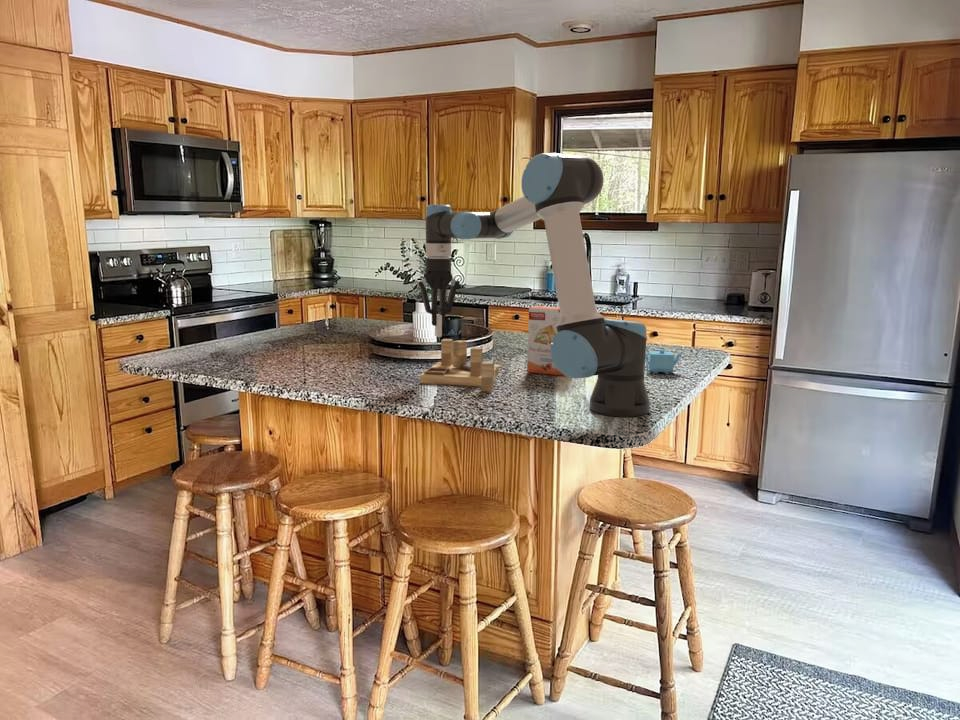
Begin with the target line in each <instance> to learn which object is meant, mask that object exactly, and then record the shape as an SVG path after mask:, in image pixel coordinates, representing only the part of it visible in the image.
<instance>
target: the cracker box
mask: <svg viewBox="0 0 960 720" xmlns="http://www.w3.org/2000/svg"><path fill="white" fill-rule="evenodd" d="M560 318H561V314H560V309H559V306H544V305H534V306H530V307H529V308H528V327H527V328H528V331H527V332H528V333H527V336H528V338H527V369H526V370H527V373H531V374H541V375H552V376H562V377H563V376H565V375H564V374H563V373H562V372H560V371H559V370H558V369H557V368H556V366H555V364H554V363H553V360H552V357H551V352H550V346H551V343H552V342H553V341H552V339H553V337H554V336H555V335H556V334H557V328H556V325H557V323H558V322H559V320H560ZM565 377H566V376H565Z"/></svg>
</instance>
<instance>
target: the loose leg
mask: <svg viewBox="0 0 960 720" xmlns="http://www.w3.org/2000/svg"><path fill="white" fill-rule="evenodd" d="M494 365H495V361H494V362H491V361H489V360H488V361H487V360H486V361H484V360H482V377H481V386H480V387H481V390H480V391H481V392H491V393H493V391H494V389H495V378H494Z"/></svg>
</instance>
